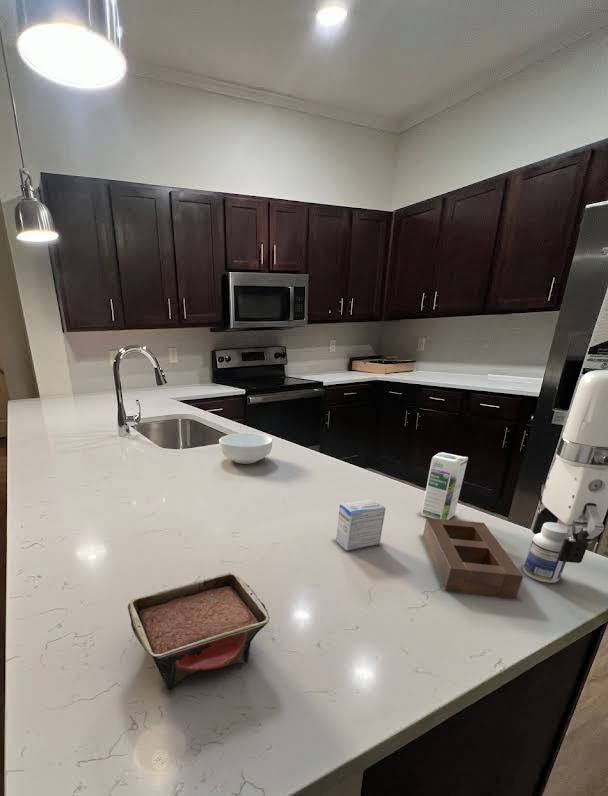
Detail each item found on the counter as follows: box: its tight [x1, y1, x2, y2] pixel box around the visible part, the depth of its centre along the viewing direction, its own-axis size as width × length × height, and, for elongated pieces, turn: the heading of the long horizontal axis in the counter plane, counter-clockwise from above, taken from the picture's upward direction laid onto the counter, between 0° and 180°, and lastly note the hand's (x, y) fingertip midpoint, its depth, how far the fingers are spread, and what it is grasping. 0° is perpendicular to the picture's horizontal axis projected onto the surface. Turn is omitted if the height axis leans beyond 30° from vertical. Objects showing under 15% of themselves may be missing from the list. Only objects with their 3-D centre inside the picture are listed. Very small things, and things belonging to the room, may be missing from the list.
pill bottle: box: [523, 522, 568, 584], centre depth 73 cm, size 5×5×10 cm
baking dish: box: [127, 572, 270, 691], centre depth 58 cm, size 14×18×10 cm
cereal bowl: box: [218, 432, 273, 465], centre depth 134 cm, size 17×17×7 cm
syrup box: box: [420, 451, 469, 520], centre depth 95 cm, size 6×6×14 cm
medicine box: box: [335, 498, 387, 551], centre depth 85 cm, size 8×4×9 cm, turn 108°
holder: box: [422, 517, 524, 600], centre depth 78 cm, size 11×19×4 cm, turn 167°
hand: (554, 546), depth 73 cm, fingers open, 9 cm apart
